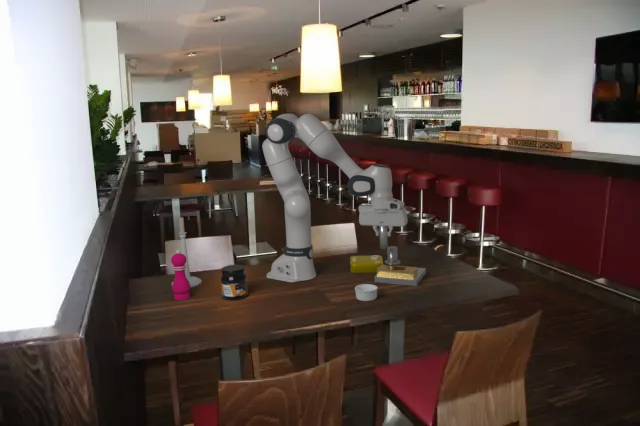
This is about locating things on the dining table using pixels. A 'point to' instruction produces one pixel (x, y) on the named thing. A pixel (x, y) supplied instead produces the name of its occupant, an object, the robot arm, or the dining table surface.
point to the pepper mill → (180, 277)
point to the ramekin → (366, 292)
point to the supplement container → (233, 282)
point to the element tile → (365, 263)
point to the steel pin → (383, 236)
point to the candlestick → (192, 280)
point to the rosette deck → (398, 271)
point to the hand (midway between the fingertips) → (383, 236)
